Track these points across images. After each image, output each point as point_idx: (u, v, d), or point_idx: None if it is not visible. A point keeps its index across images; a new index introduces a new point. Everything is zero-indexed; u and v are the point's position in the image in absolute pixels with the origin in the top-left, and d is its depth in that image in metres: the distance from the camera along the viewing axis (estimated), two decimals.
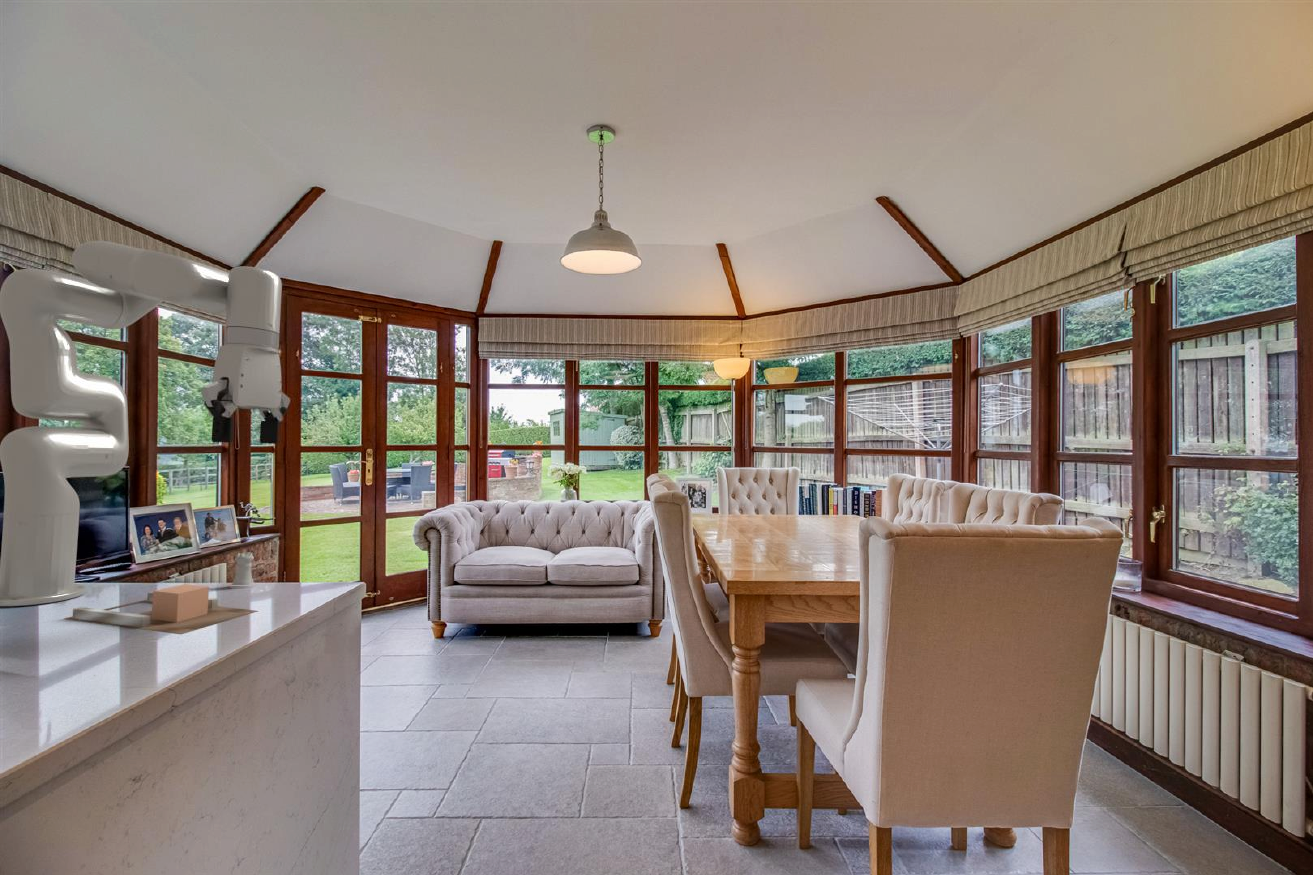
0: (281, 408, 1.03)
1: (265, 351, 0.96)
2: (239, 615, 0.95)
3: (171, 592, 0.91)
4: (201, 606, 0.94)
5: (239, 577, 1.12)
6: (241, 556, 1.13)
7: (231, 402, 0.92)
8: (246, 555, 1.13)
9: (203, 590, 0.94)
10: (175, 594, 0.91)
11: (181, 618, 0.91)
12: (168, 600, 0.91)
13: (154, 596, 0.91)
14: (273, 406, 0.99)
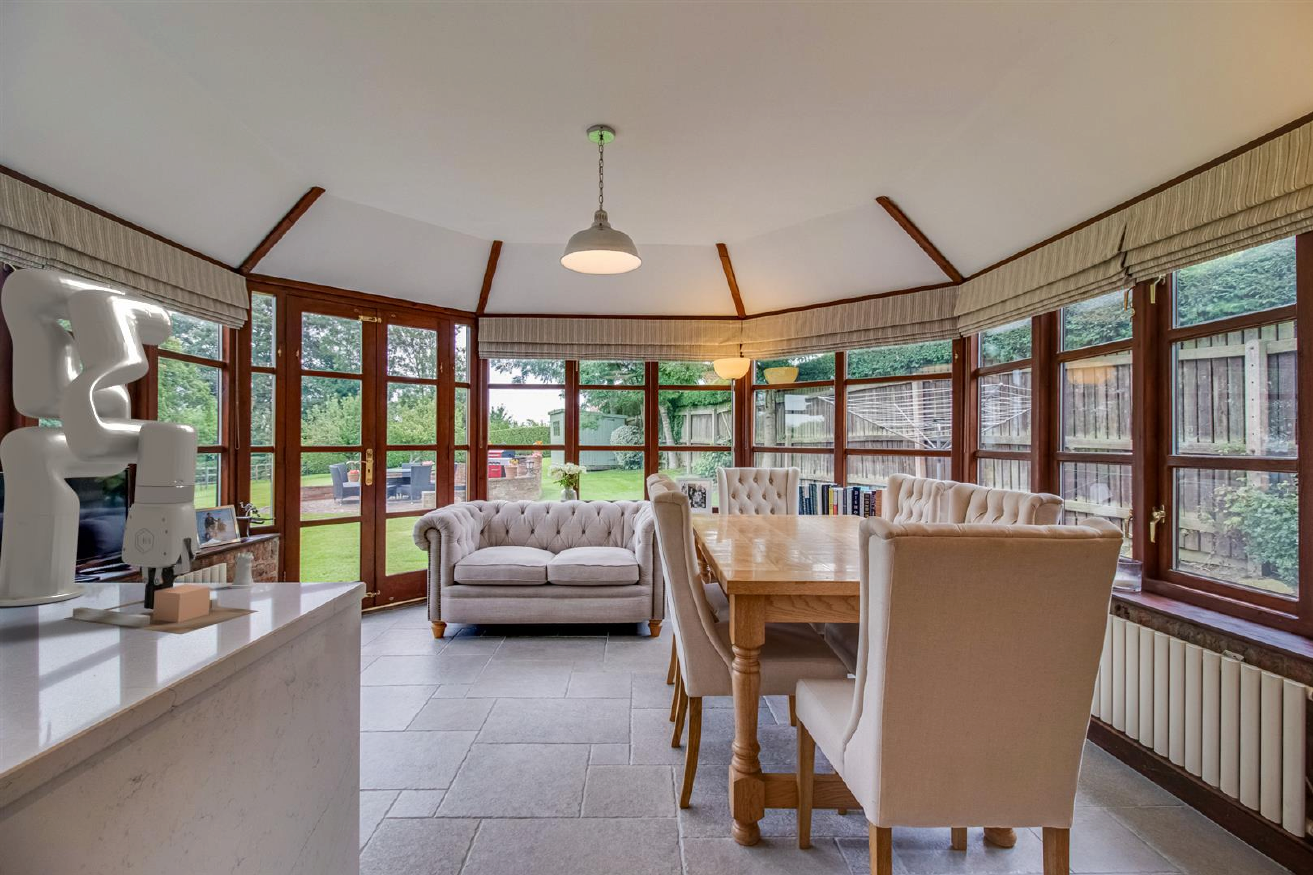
0: None
1: None
2: (239, 615, 0.95)
3: (172, 592, 0.91)
4: (202, 606, 0.94)
5: (239, 577, 1.12)
6: (241, 556, 1.13)
7: None
8: (246, 555, 1.13)
9: (204, 590, 0.94)
10: (176, 594, 0.91)
11: (183, 618, 0.91)
12: (170, 600, 0.91)
13: (155, 596, 0.91)
14: None
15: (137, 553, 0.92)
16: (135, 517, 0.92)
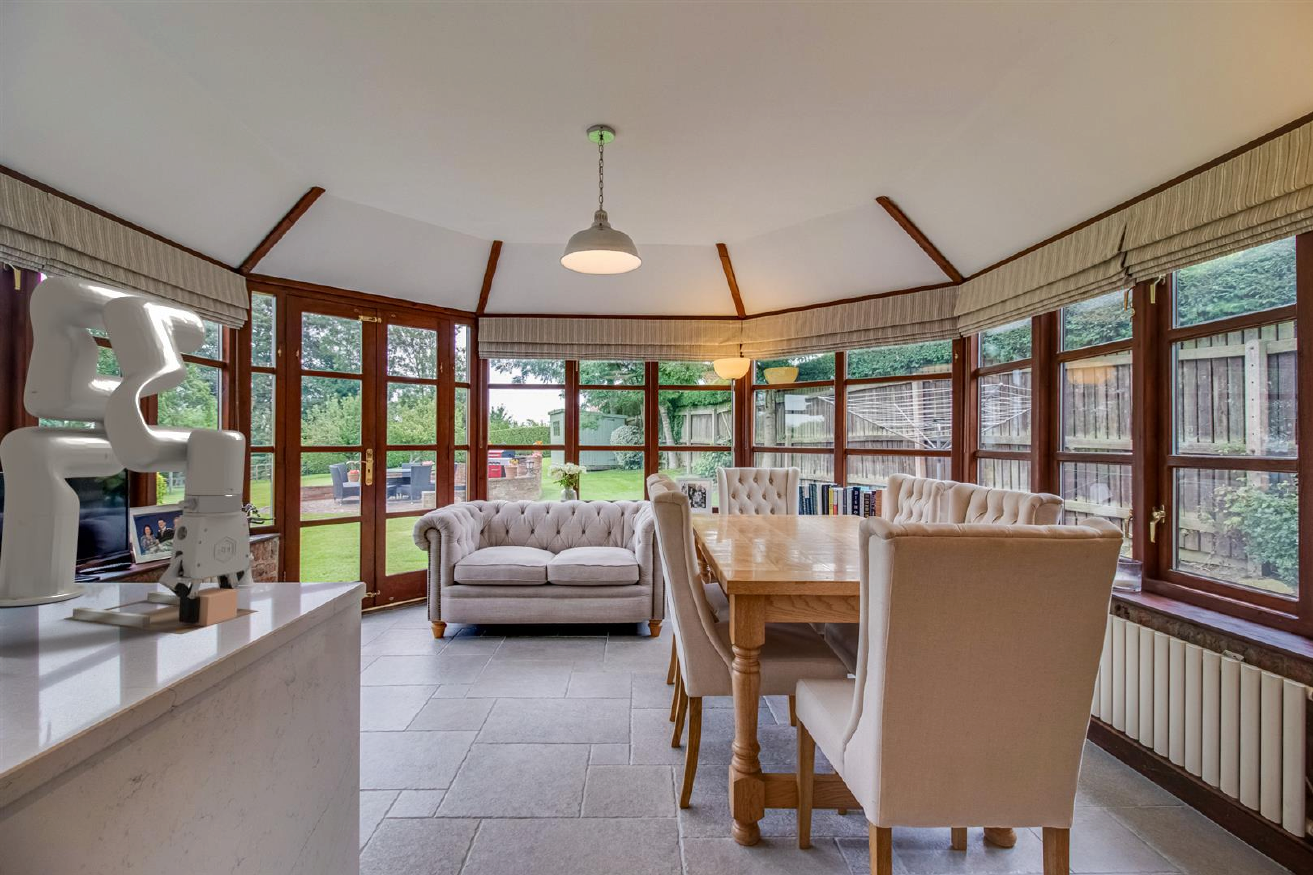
0: None
1: None
2: (239, 615, 0.95)
3: (201, 595, 0.90)
4: (230, 609, 0.93)
5: None
6: None
7: None
8: None
9: (232, 593, 0.93)
10: (205, 597, 0.89)
11: (211, 622, 0.90)
12: None
13: None
14: (180, 573, 0.90)
15: (217, 564, 0.91)
16: (212, 529, 0.90)
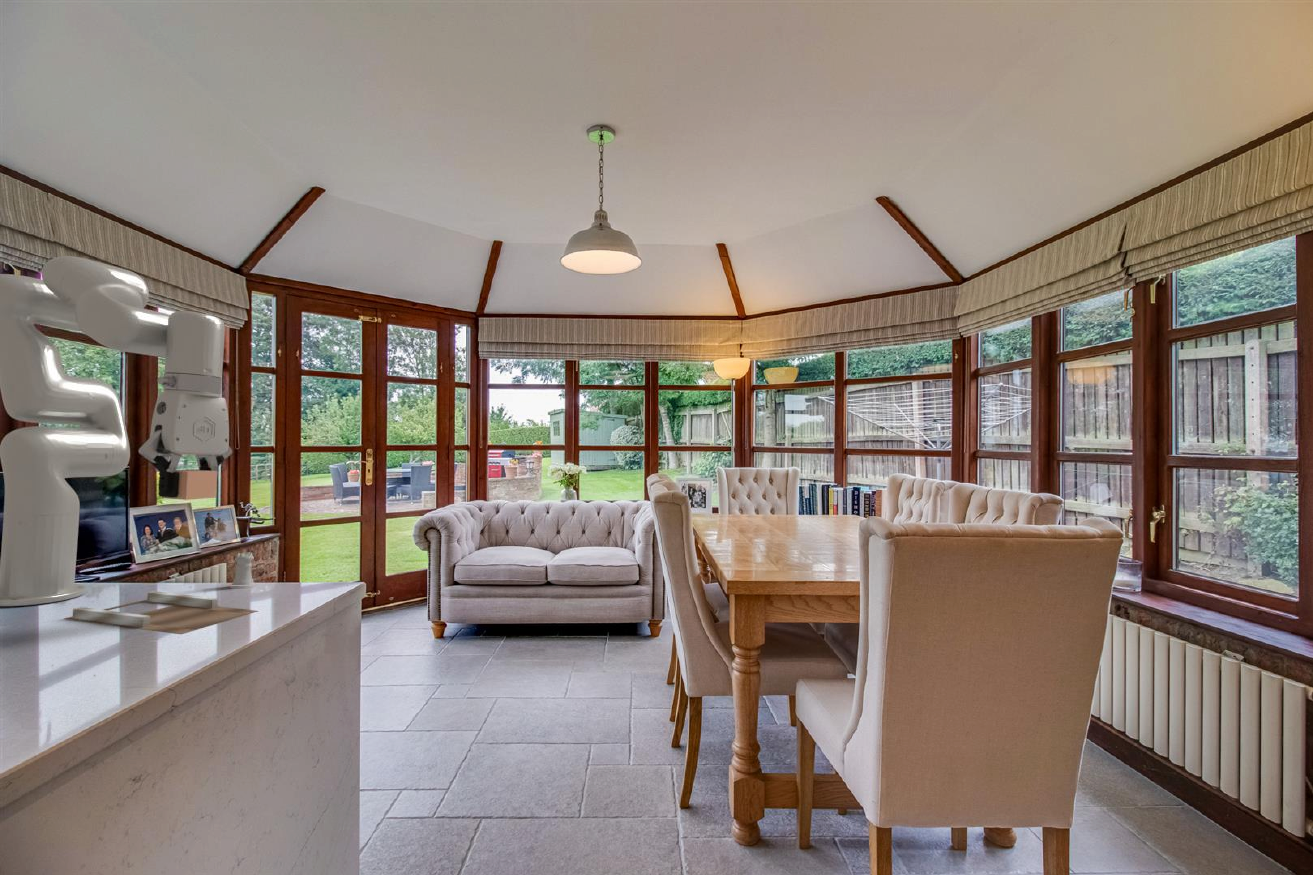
0: None
1: None
2: (239, 615, 0.95)
3: None
4: (209, 489, 0.96)
5: (239, 577, 1.12)
6: (241, 556, 1.13)
7: None
8: (246, 555, 1.13)
9: (211, 473, 0.96)
10: (184, 472, 0.92)
11: (190, 497, 0.93)
12: None
13: None
14: (160, 449, 0.93)
15: (196, 442, 0.94)
16: (191, 406, 0.93)
